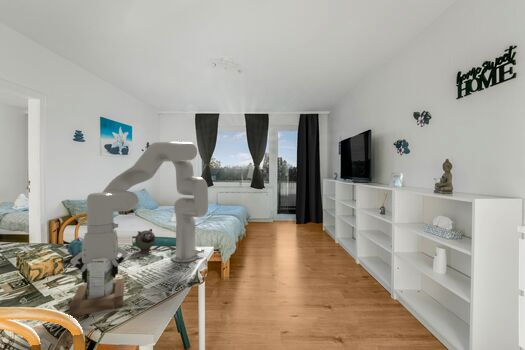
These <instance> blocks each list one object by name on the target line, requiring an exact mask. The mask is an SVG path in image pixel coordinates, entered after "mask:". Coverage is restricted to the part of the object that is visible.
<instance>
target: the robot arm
mask: <svg viewBox="0 0 525 350" xmlns="http://www.w3.org/2000/svg"><path fill="white" fill-rule="evenodd" d="M197 155H198V148H197V146H196V144H194V142H191V141H186V142H185V141H182V142H181V141H159V142H157V141H156V142H153V143H151V144H150V145H149V146H148V147H147V148H146V149H145V151H144V152H143V153H142V155H141V156H139V158H138V159H137V160H136V162H135V163H134V164H133V165H132V166H131V167H129V168H127V169H126V170H124V171H123V172H121V173H120V174H119V175H117V176H115V178H113V179H112V180H111V181H110V183H109V184H108V185H107V186H106V187H105V188H104V190H103V191H102V192H92V193H90V194H88V195H87V198H86V232H85V233H84V237H83V239H84V240H83V247H82V252H81V253H79V254H78V255H77V256H73V257H72V258H71V260H70V262H69V263H71V264H72V265H73V267H75V268H76V269H78V270H79V271H80V272H81V281H83V283H84V284H87V264H89V263H91V261H92V260H93V259H95V258H108V261H111V262H112V263H113V264H114V265H113V279H115V278H116V275H118V274H119V265H120V264H121V263H122V262H123V261H124V259H125V258H126V257H127V256H128V254H129V251H127V250H125V249H123V248H121V247H120V246H119V243H118V242H119V241H118V240H119V239H118V234H117V230H116V229H117V228H119V223H115V221H114V215H115V214H114V213H115V212H118V213H119V212H130V211H132V210H134V209H135V208H136V207H137V206H138V204H139V196H138V195H137V194H136V193H135V192H133V191H129V190H130V189H131V188H132V187H134V186H136V185H138V184H141V183H144V182H148V181H149V180H151V179H152V178H153V177H154V176H155V174H156V173H157V172H158V170H159V169H160V167H161V166H162V165H163V163H164V162H171V163H172V164H173V166H174V167H175V168H174V169H175V177H176V178H175V181H176V182H175V183H176V184H175V185H176V192H177V193H178V194H179V195H181V196H182V195H184V197H180V198H178V199H176V200H175V202H174V206H173V209H174V215H175V254H174V255H173V256H172V261H174V262H176V263H190V262H193V261H196V260H197V259H198V258H199V254H202V253H203V254H204V253H205V248H199V247H198V248H196V220H195V218H203V217H205V216H206V215H207V214H208V210H209V193H208V191H209V190H208V189H209V188H208V183H207V181H206V180H205V178H203V177H200V176H194V175H195V174H194V165H193V163H192V162H191V161H192V160H194V159H195V158H196V157H197ZM185 196H189V197H185ZM190 196H193V197H190ZM118 254H121V256H120V257H118ZM81 257H82V259H81ZM117 257H118V258H117ZM80 259H81V262H80V261H79V260H80Z"/></svg>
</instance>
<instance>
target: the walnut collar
mask: <svg viewBox="0 0 525 350" xmlns="http://www.w3.org/2000/svg"><path fill="white" fill-rule="evenodd" d="M124 292H125V278H123V277H122V278H117V279H113V293H112V294H110V295H106V296H101V297H96V298H91V299H87V284H85V285H79V286H78V287H77V290H76V291H75V293H74V296H73V298H72V301H71V303H70V305H69V316H70V315H71V316H73V317H72V318H75V317H80V316H85V315H88V314H89V315H90V314H94V313H98V312H102V311H106V310H110V309H114V308H119V307H122V306H124V294H125V293H124Z"/></svg>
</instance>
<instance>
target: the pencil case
mask: <svg viewBox="0 0 525 350" xmlns="http://www.w3.org/2000/svg"><path fill="white" fill-rule="evenodd" d="M83 240H84V237H77V238H74V239H73V240H72V241H70V242H69V244H65V247H64V248H65V249H66V250H67V253H68V254H69V255H71V256H73V257H75V256H77V255H78V254H79V253H81V252H82V247H83ZM80 259H81V260H82V257H81V258H80Z"/></svg>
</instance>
